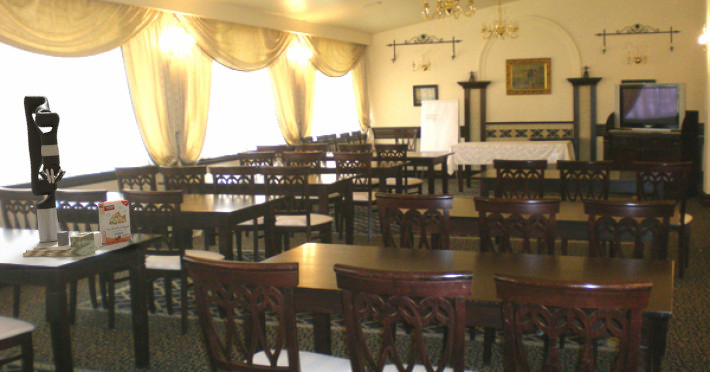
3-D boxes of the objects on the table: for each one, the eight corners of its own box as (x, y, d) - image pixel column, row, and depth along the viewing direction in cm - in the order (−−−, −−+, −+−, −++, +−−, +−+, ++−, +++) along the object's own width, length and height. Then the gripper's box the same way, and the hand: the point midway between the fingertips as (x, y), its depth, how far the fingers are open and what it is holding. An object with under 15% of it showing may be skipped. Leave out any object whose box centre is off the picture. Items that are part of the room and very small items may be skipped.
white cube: (97, 244, 322) (96, 230, 321) (105, 245, 317) (104, 231, 317) (84, 247, 316) (83, 233, 316) (92, 248, 312) (90, 234, 311)
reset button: (81, 243, 302) (80, 233, 301) (87, 243, 301) (86, 233, 301) (78, 245, 299) (77, 234, 298) (83, 245, 299) (83, 234, 298)
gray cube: (50, 250, 298) (48, 234, 297) (61, 245, 306) (60, 230, 306) (66, 249, 297) (65, 233, 296) (77, 245, 305) (75, 230, 305)
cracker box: (107, 245, 319) (103, 203, 316) (100, 244, 322) (97, 202, 320) (131, 240, 330) (128, 199, 327) (125, 239, 333) (122, 199, 331)
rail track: (23, 256, 299) (21, 237, 298) (36, 251, 309) (34, 233, 308) (83, 255, 295) (82, 236, 294) (95, 251, 305) (93, 232, 304)
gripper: (68, 153, 308) (71, 189, 310) (42, 154, 310) (45, 190, 312) (59, 154, 301) (62, 191, 303) (32, 155, 302) (36, 192, 304)
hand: (53, 190), depth 307 cm, fingers closed
